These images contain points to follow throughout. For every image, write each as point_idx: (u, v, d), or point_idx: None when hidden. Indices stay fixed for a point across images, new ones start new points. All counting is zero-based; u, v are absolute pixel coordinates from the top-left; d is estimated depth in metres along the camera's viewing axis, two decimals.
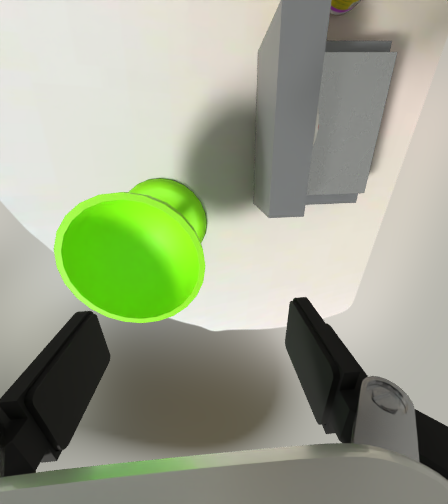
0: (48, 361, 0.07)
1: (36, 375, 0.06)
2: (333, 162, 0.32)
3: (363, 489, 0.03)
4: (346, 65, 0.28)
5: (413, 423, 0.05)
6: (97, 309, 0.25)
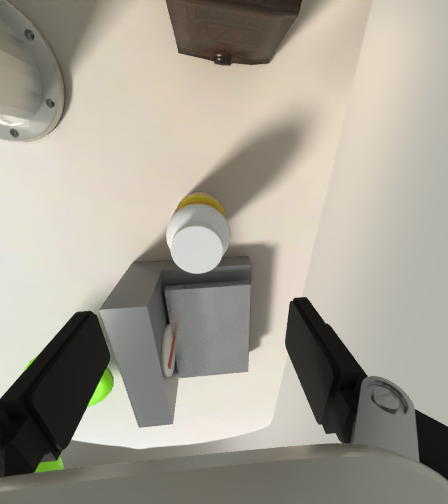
0: (48, 361, 0.07)
1: (36, 376, 0.06)
2: (211, 355, 0.34)
3: (363, 489, 0.03)
4: (203, 295, 0.29)
5: (413, 423, 0.05)
6: None
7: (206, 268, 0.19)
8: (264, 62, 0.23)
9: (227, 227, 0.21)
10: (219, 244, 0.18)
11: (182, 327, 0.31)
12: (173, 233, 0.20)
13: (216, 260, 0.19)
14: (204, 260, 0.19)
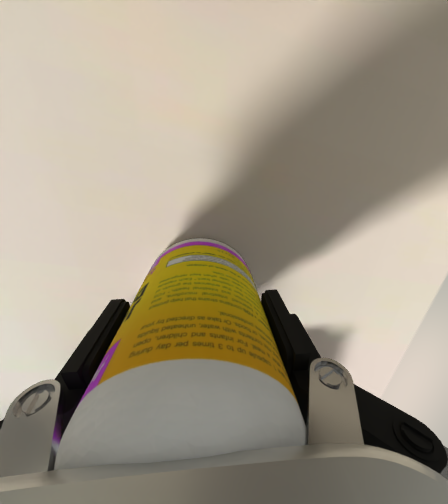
0: (96, 340, 0.08)
1: (89, 352, 0.07)
2: None
3: (363, 489, 0.03)
4: None
5: (353, 393, 0.06)
6: None
7: None
8: None
9: None
10: None
11: None
12: None
13: None
14: None
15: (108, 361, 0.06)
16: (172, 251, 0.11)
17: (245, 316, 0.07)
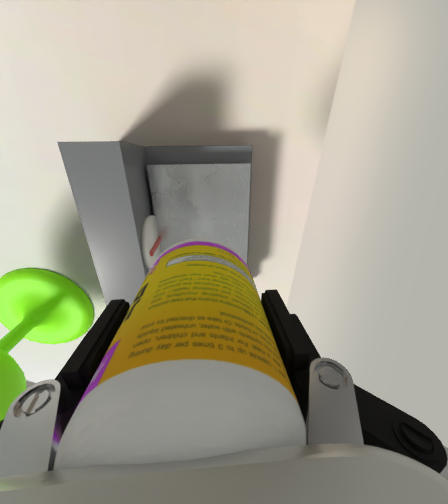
0: (96, 340, 0.08)
1: (89, 352, 0.07)
2: None
3: (363, 489, 0.03)
4: (194, 176, 0.25)
5: (352, 393, 0.06)
6: None
7: None
8: None
9: None
10: None
11: (169, 222, 0.27)
12: None
13: None
14: None
15: (108, 361, 0.06)
16: (172, 251, 0.11)
17: (245, 316, 0.07)
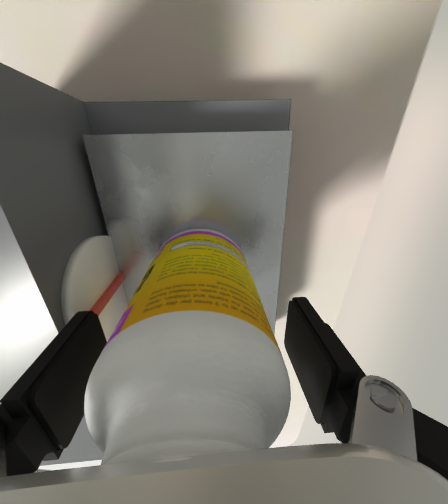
0: (50, 360, 0.07)
1: (38, 375, 0.06)
2: None
3: (363, 489, 0.03)
4: (180, 158, 0.12)
5: (410, 422, 0.05)
6: None
7: None
8: None
9: (286, 384, 0.06)
10: None
11: (137, 246, 0.14)
12: (99, 426, 0.06)
13: None
14: None
15: (125, 318, 0.07)
16: (175, 239, 0.13)
17: (238, 287, 0.08)
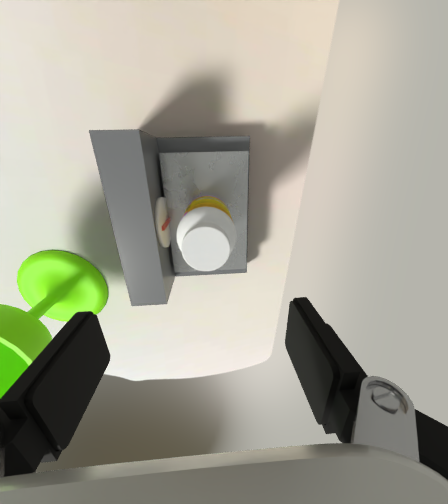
0: (48, 361, 0.07)
1: (36, 376, 0.06)
2: None
3: (363, 489, 0.03)
4: (199, 162, 0.28)
5: (413, 424, 0.05)
6: None
7: (214, 266, 0.20)
8: None
9: (233, 228, 0.22)
10: (226, 244, 0.20)
11: (177, 204, 0.30)
12: (183, 233, 0.22)
13: (224, 259, 0.20)
14: (212, 258, 0.20)
15: (186, 212, 0.23)
16: (197, 198, 0.29)
17: (222, 207, 0.24)
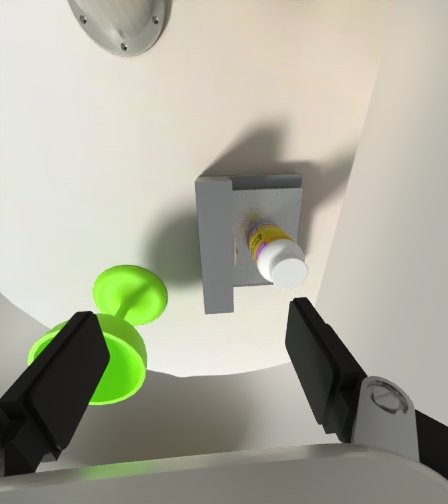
0: (48, 361, 0.07)
1: (36, 375, 0.06)
2: None
3: (363, 489, 0.03)
4: (263, 197, 0.35)
5: (413, 423, 0.05)
6: None
7: (294, 286, 0.27)
8: None
9: (303, 255, 0.29)
10: (305, 270, 0.26)
11: (242, 229, 0.37)
12: (267, 260, 0.28)
13: (302, 281, 0.27)
14: (293, 281, 0.27)
15: (265, 243, 0.29)
16: (261, 226, 0.35)
17: None
